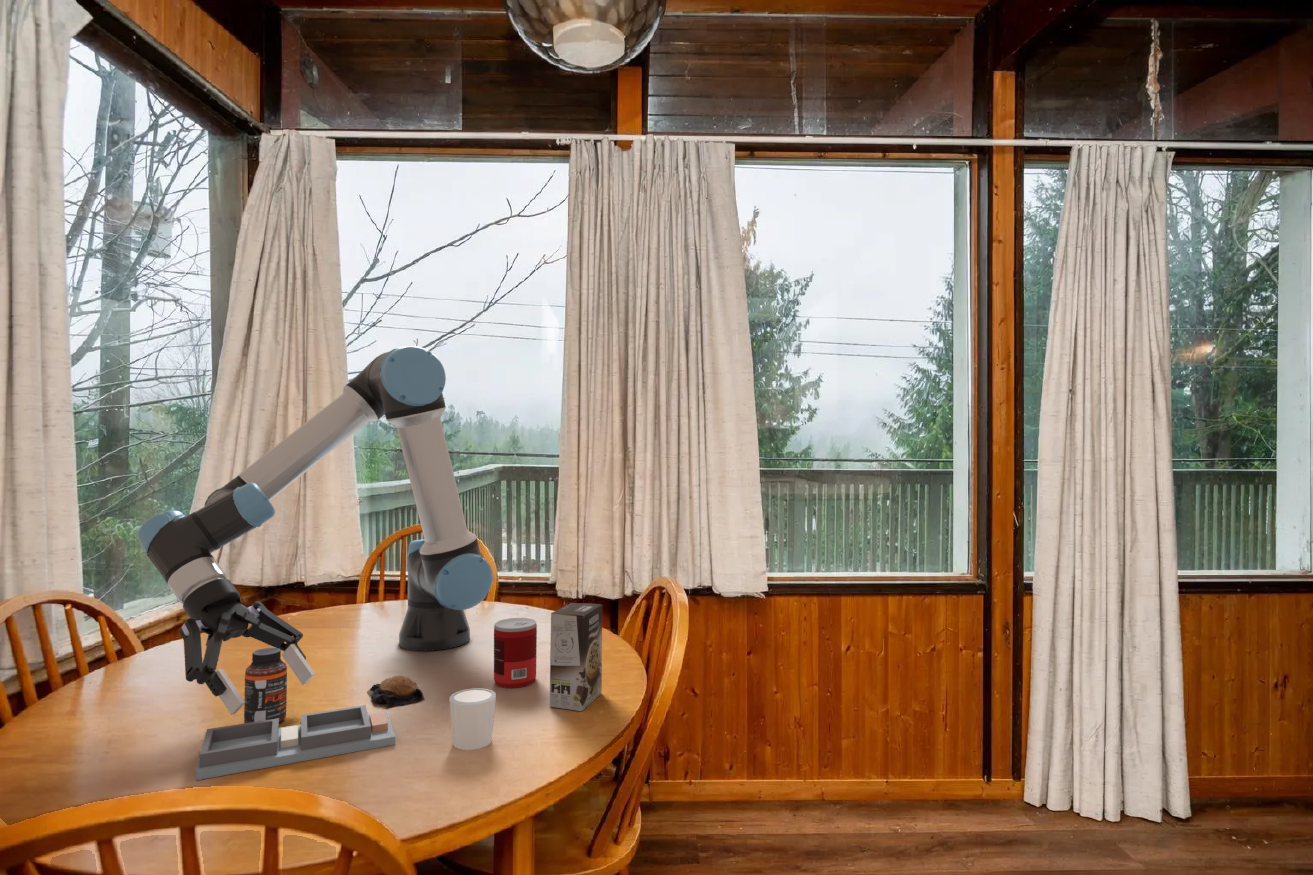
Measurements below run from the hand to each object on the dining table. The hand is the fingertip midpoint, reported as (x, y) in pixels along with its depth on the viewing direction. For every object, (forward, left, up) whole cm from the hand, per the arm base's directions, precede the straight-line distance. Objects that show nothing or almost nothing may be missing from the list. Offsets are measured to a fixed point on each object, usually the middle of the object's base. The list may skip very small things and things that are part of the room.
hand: (275, 693), depth 113 cm
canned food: (-40, -3, -5) cm, 40 cm away
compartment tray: (-4, +11, -5) cm, 12 cm away
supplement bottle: (+1, -2, -5) cm, 5 cm away
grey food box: (-47, +11, -5) cm, 48 cm away
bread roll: (-19, -4, -6) cm, 20 cm away
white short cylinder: (-27, +20, -5) cm, 34 cm away
